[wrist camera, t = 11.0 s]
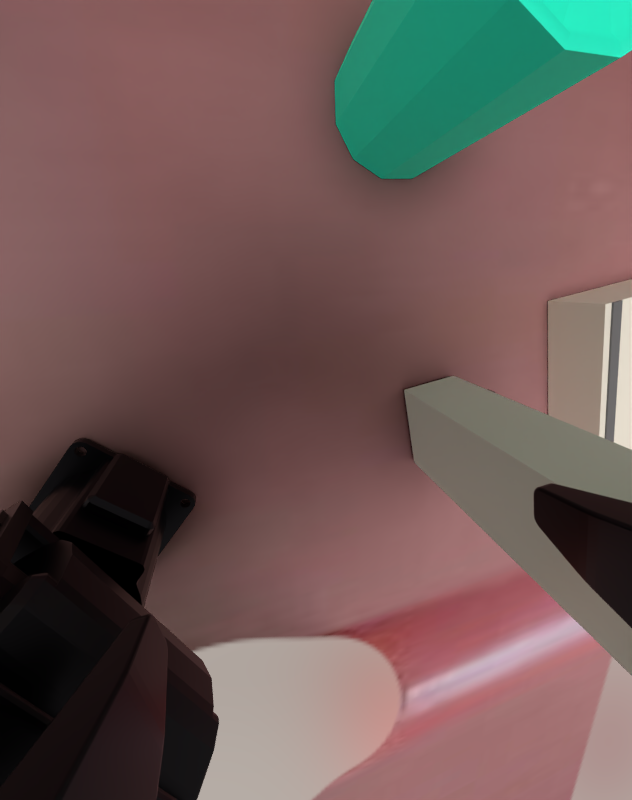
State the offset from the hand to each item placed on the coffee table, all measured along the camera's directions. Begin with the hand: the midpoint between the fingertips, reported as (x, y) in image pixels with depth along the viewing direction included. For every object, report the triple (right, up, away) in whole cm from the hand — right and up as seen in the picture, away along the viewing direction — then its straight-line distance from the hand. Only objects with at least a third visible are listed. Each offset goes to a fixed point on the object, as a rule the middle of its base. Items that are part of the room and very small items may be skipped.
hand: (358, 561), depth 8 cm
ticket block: (+16, +5, +15) cm, 22 cm away
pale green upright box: (+6, +3, +13) cm, 15 cm away
